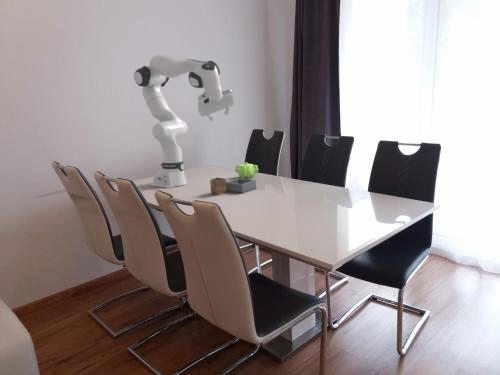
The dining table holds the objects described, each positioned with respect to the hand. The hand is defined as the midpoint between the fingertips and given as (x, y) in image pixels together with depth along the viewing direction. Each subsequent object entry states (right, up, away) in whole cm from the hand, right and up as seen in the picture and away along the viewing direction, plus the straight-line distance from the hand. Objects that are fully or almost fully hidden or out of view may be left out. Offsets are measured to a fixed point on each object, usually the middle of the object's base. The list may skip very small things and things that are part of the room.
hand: (218, 117), depth 225 cm
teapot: (+15, -32, +37) cm, 52 cm away
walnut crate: (0, -42, +1) cm, 42 cm away
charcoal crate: (+12, -40, +6) cm, 42 cm away
